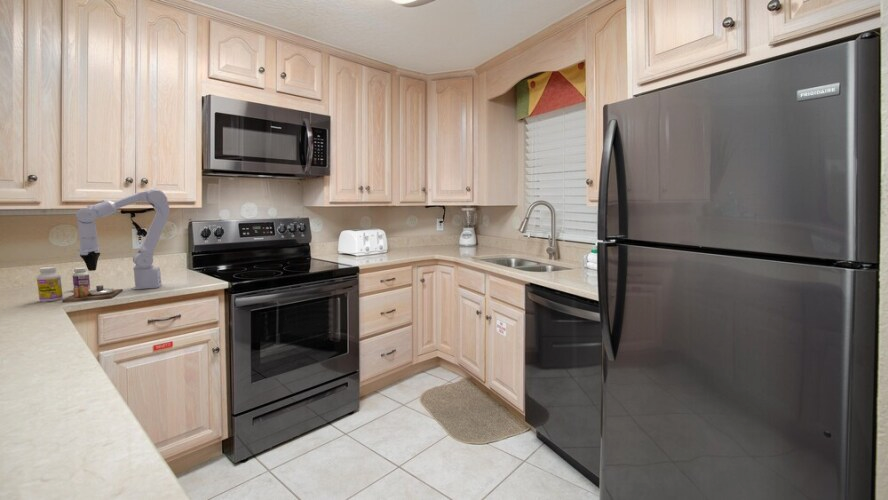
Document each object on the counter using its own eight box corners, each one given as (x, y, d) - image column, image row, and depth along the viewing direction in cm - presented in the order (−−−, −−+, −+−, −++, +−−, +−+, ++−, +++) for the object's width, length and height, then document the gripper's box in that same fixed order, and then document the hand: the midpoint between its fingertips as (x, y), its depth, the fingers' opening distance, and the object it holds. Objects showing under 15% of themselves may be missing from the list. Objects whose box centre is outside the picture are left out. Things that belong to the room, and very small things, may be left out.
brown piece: (122, 291, 176) (121, 278, 175) (111, 298, 162) (110, 284, 162) (78, 294, 170) (76, 281, 169) (62, 302, 156) (61, 288, 155)
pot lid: (108, 289, 173) (108, 281, 172) (118, 292, 168) (117, 284, 168) (70, 295, 162) (69, 287, 162) (79, 298, 157) (78, 289, 157)
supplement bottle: (35, 303, 156) (31, 269, 154) (44, 299, 162) (40, 267, 160) (58, 301, 158) (54, 268, 157) (66, 297, 164) (62, 266, 163)
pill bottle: (80, 291, 176) (78, 269, 174) (70, 291, 177) (68, 269, 176) (93, 288, 181) (91, 267, 180) (84, 288, 182) (81, 267, 181)
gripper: (82, 237, 173) (86, 268, 175) (68, 239, 160) (73, 274, 162) (103, 236, 176) (106, 267, 178) (91, 238, 163) (95, 272, 165)
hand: (92, 270), depth 170 cm, fingers closed
